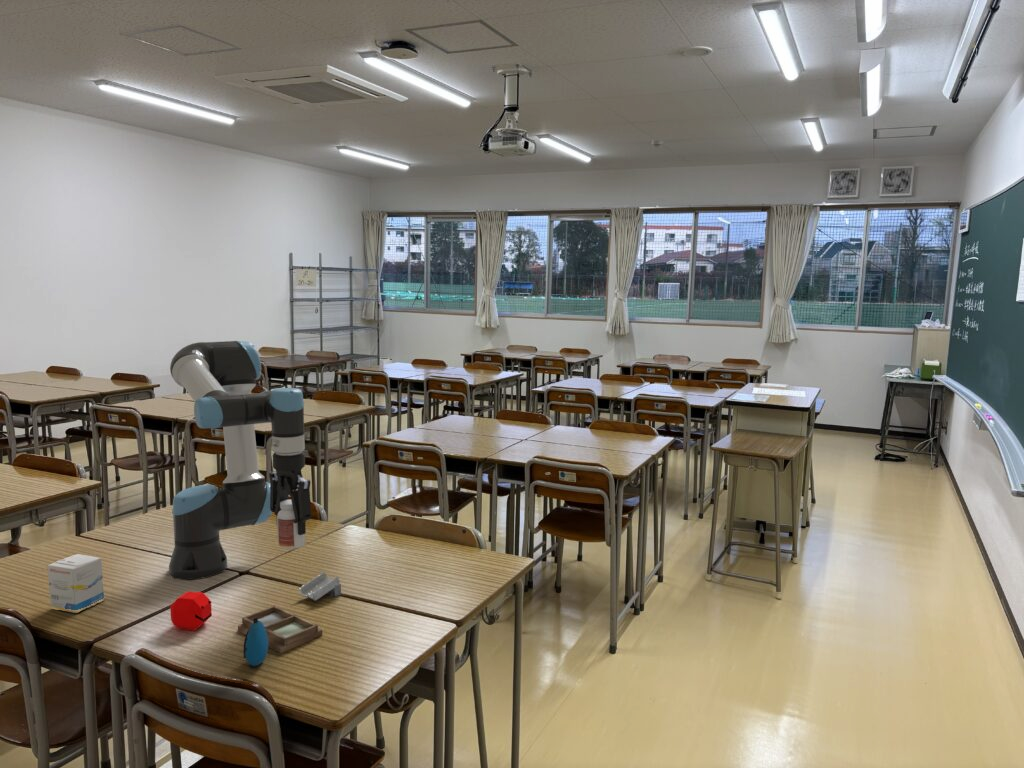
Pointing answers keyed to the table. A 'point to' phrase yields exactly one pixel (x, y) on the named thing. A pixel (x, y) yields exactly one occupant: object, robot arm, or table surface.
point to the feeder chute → (321, 587)
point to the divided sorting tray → (282, 628)
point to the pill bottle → (286, 525)
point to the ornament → (256, 643)
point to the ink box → (75, 582)
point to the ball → (190, 610)
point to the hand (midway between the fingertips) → (291, 543)
